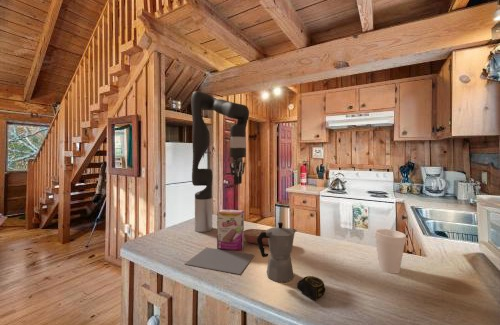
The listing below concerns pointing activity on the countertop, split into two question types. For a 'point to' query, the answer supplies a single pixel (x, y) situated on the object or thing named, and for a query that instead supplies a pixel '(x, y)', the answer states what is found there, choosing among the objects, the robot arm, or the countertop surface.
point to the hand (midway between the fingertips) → (237, 184)
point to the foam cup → (390, 249)
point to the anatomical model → (254, 236)
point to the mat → (221, 260)
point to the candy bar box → (230, 229)
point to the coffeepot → (278, 252)
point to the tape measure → (311, 287)
